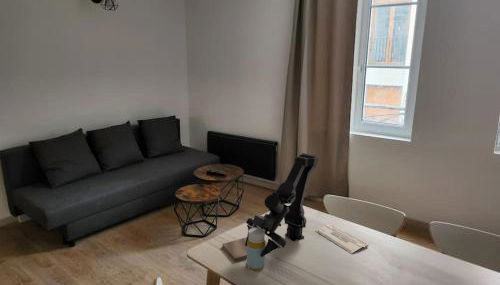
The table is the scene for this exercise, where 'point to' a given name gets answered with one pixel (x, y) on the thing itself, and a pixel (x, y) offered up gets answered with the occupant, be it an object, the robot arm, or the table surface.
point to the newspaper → (341, 238)
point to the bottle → (255, 249)
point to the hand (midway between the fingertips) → (253, 251)
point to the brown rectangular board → (237, 249)
